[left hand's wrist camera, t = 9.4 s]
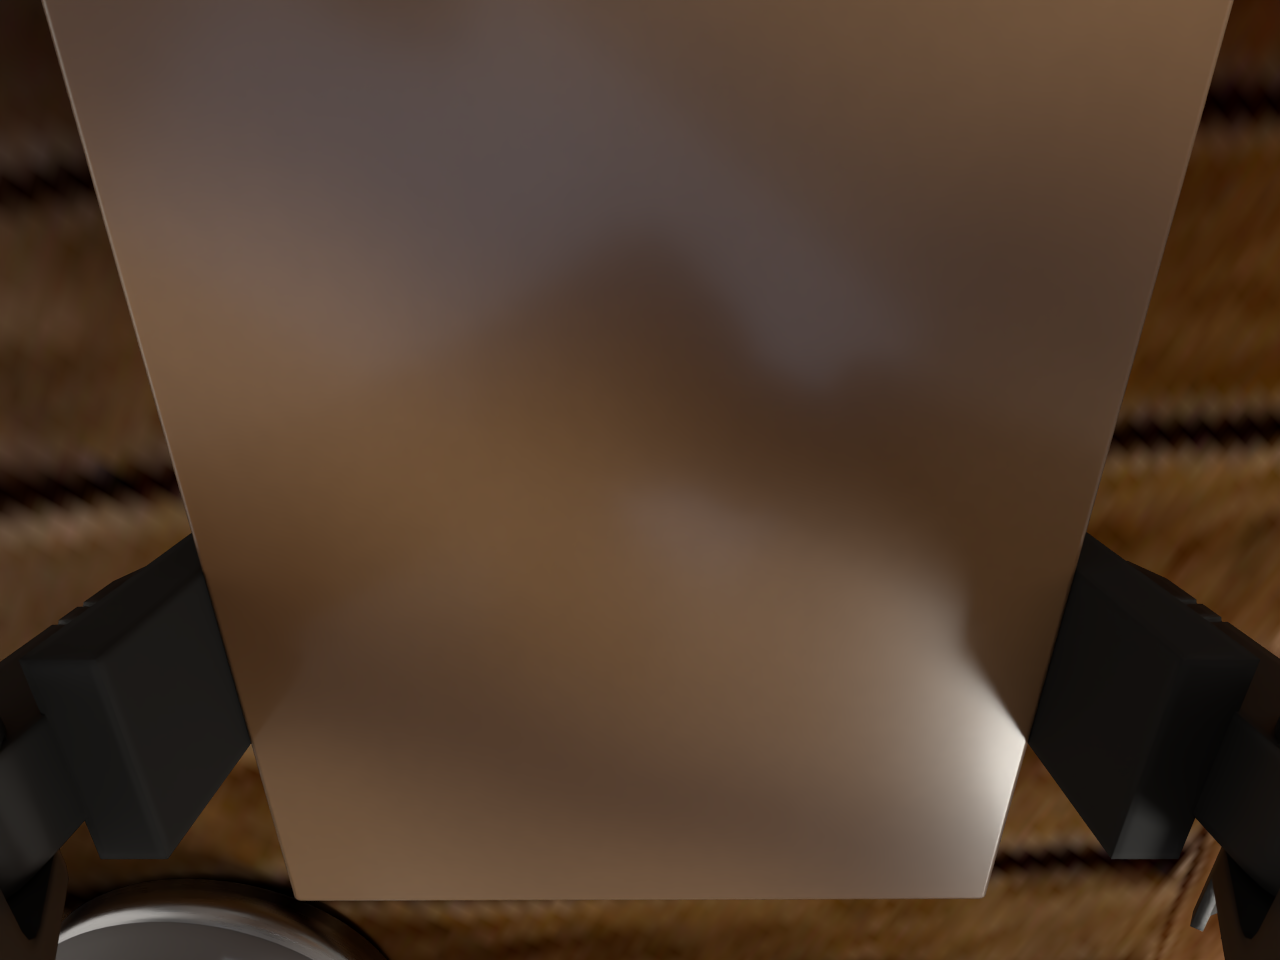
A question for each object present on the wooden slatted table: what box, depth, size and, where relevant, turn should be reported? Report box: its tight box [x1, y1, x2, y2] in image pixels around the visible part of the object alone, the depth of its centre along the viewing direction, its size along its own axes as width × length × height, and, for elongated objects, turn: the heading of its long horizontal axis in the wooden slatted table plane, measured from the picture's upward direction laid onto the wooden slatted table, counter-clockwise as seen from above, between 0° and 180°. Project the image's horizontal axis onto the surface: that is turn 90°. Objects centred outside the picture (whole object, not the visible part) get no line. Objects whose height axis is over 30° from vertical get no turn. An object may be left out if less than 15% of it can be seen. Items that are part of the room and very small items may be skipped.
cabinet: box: [41, 0, 1234, 901], centre depth 12 cm, size 21×11×12 cm, turn 0°
